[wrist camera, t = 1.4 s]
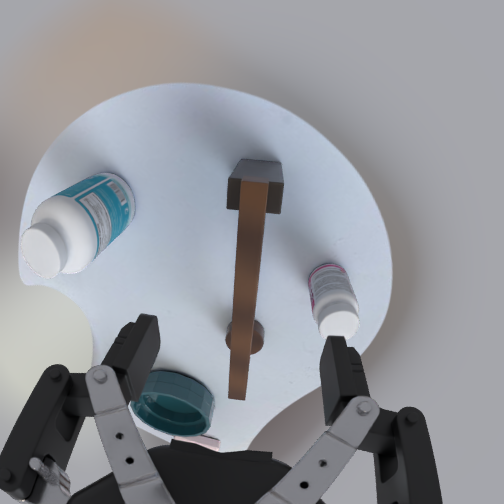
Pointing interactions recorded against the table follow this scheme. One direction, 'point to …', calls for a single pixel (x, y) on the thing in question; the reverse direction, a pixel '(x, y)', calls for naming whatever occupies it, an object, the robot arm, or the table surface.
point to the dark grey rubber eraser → (259, 170)
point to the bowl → (174, 405)
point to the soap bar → (201, 441)
